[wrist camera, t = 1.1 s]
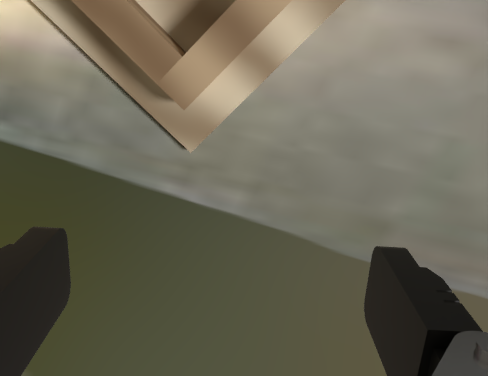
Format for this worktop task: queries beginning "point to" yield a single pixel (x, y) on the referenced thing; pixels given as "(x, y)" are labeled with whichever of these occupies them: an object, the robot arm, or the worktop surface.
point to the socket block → (188, 50)
